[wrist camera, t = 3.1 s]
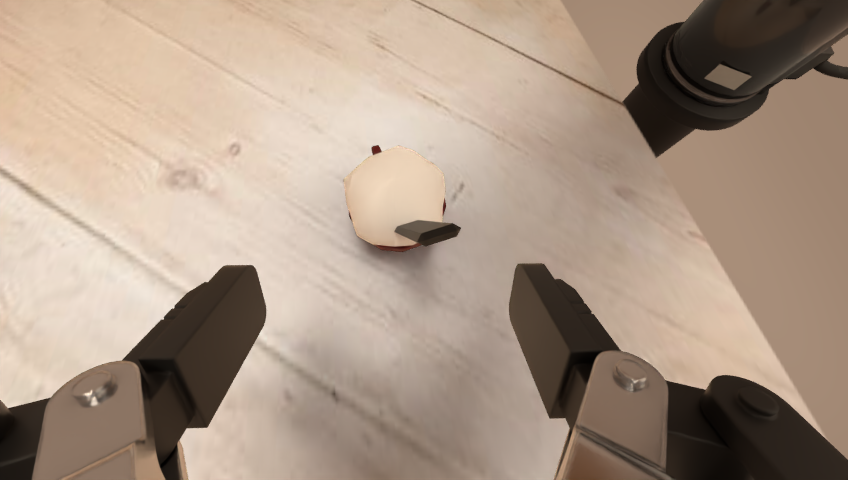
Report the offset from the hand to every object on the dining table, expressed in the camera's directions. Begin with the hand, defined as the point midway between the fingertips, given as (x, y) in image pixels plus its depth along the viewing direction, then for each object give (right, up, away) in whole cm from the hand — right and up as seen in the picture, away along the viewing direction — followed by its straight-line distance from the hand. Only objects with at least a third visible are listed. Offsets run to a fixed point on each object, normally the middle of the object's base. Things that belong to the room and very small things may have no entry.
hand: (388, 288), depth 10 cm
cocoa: (-1, +2, +14) cm, 14 cm away
